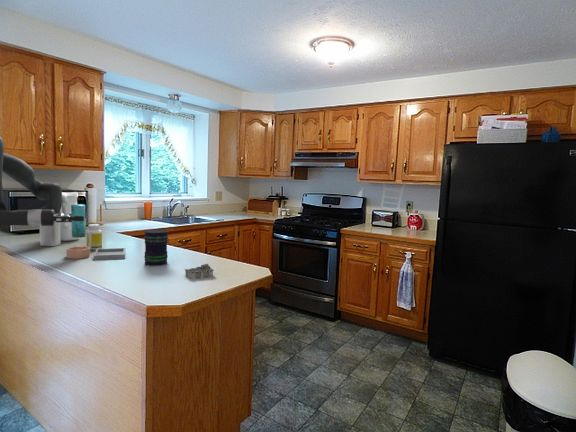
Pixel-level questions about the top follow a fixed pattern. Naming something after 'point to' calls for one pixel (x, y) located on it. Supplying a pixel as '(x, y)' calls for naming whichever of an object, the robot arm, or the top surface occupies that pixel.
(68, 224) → the pitcher
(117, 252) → the tray
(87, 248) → the peach octagonal bowl
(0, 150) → the robot arm
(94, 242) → the supplement bottle
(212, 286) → the top surface
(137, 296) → the top surface
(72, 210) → the bottle
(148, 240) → the dark blue barrel
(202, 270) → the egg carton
